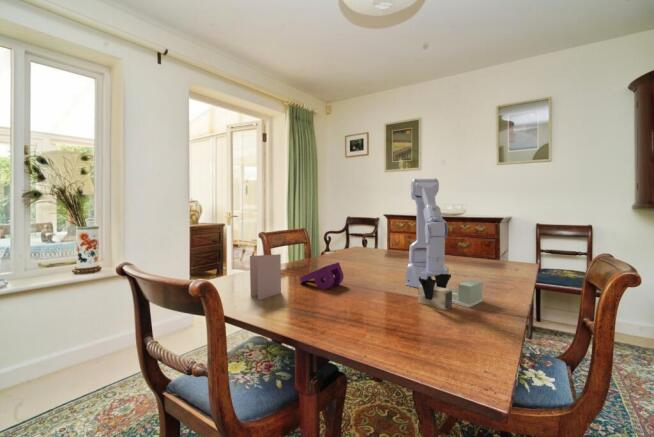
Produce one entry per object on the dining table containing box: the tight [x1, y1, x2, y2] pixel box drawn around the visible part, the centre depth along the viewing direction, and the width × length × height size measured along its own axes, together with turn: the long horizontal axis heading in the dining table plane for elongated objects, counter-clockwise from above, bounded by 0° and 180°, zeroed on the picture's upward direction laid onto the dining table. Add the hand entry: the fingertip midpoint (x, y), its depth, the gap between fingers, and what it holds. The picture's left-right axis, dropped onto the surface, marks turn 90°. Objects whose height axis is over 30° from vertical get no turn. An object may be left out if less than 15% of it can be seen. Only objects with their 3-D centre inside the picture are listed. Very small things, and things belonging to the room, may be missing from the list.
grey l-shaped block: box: [435, 279, 483, 308], centre depth 114 cm, size 17×10×7 cm, turn 41°
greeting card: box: [249, 253, 282, 301], centre depth 117 cm, size 11×7×15 cm, turn 108°
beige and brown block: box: [417, 285, 453, 311], centre depth 108 cm, size 10×4×6 cm, turn 41°
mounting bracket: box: [298, 262, 345, 290], centre depth 134 cm, size 9×8×18 cm
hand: (434, 296), depth 107 cm, fingers open, 7 cm apart
